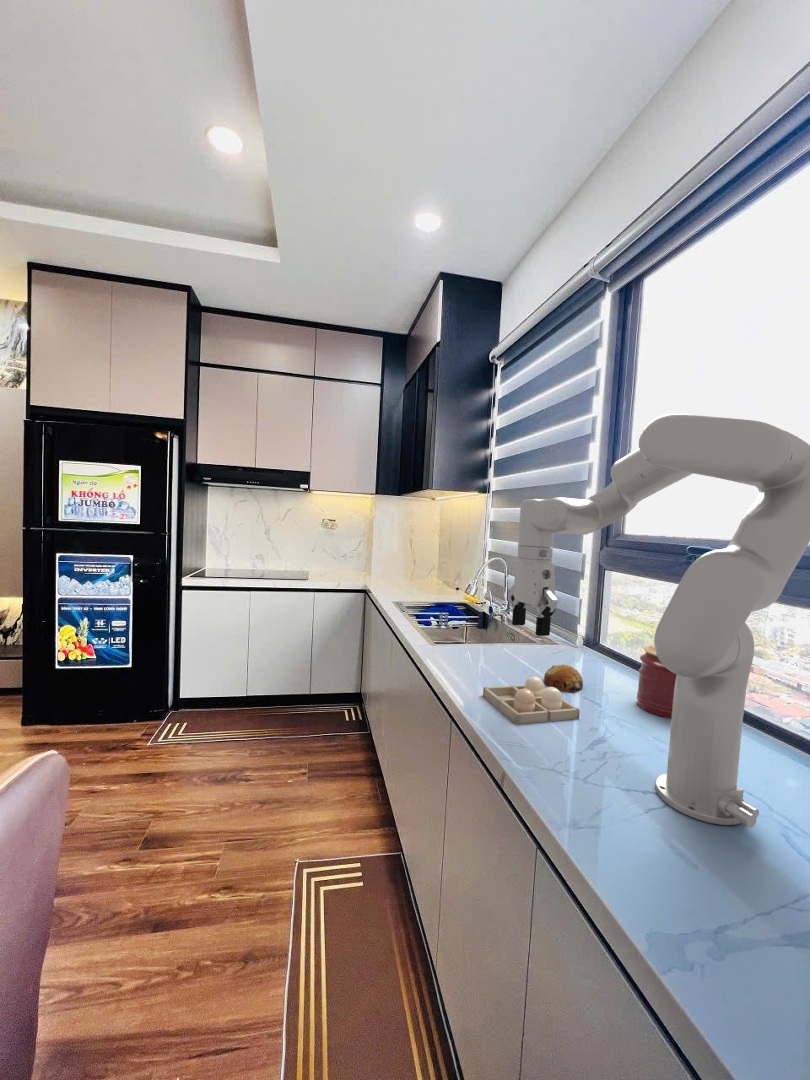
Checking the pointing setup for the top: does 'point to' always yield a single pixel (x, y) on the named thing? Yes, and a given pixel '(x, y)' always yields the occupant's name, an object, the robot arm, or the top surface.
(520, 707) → the brown egg
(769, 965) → the top surface
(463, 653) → the top surface
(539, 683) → the pale egg
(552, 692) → the pale egg
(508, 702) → the egg tray
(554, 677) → the bread roll
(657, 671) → the canister
